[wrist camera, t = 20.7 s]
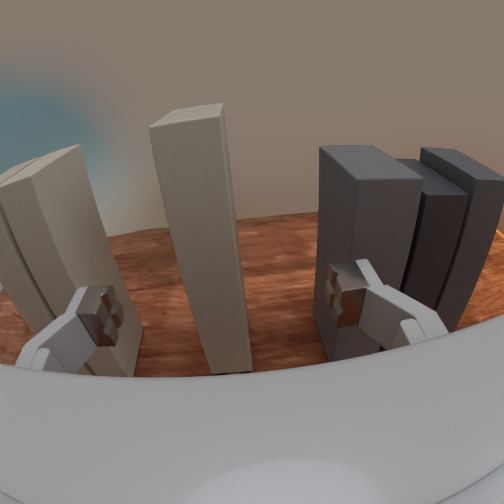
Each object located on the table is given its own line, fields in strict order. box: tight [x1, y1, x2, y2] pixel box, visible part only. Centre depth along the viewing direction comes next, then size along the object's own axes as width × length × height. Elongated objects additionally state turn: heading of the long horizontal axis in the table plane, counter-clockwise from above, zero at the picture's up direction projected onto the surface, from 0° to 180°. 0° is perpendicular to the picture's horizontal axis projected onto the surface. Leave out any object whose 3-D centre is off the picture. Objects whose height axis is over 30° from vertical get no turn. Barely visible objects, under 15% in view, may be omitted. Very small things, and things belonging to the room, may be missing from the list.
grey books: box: [313, 145, 504, 362], centre depth 16 cm, size 5×10×12 cm, turn 94°
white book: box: [149, 103, 253, 374], centre depth 15 cm, size 5×2×14 cm, turn 4°
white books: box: [0, 144, 241, 377], centre depth 15 cm, size 6×13×14 cm, turn 94°
